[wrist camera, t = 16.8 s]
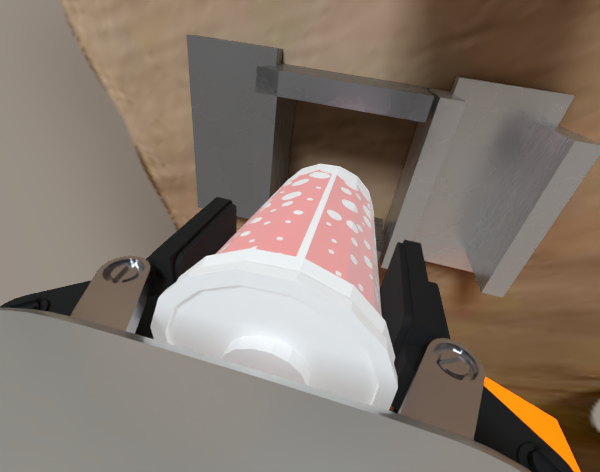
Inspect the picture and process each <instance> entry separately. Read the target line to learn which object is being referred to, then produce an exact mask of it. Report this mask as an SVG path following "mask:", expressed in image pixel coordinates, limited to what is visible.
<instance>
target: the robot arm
mask: <svg viewBox="0 0 600 472" xmlns="http://www.w3.org/2000/svg"><path fill="white" fill-rule="evenodd" d="M236 213H237V208H236V205H235V204H233V202H232V200H229V199H225V198H220V197H216V198H215V199H213V200H212V201H211V202H210V203H209V204H208V205H207V206H205V207H204V208H203V209H202V210H201V211H200V212H199V213H197V214H196V215H195V216H194V217H193V218H192V219H191V220H189V221H188V222H187V223H186V224H185V225H184V226H183V227H181V228H180V229H179V230H178V231H177V232H176V233H175V234H173V235H172V236H171V237H170V238H169V239H168V240H167V241H165V242H164V243H163V244H162V245H161V246H160V247H159V248H157V249H156V250H155V251H154V252H153V253H152V254H151V255H150V256H149V257H148V258H147V259H144V258H141V257H137V256H124V257H120V258H116V259H113V260H111V261H108V262H107V263H105V264H104V265H102V266H101V267H100V269H99V270H98V271H97V273H96V274H95V276H94V277H93V279H92V281H87V282H83V283H78V284H74V285H70V286H65V287H61V288H57V289H52V290H47V291H43V292H39V293H34V294H30V295H26V296H22V297H19V298H16V299H14V300H11V301H9V302H7V303H5V304H3V305H2V306H0V472H574V471H573V470H572V468H571V467H570V466H569V464H568V463H567V462H566V461H565V460H564V459H563V458H562V457H561V456H560V455H559V454H558V453H557V452H556V451H555V450H554V449H553V448H551V447H550V446H549V445H548V444H547V443H546V442H545V441H544V440H543V439H542V438H541V437H539V436H538V435H537V434H536V433H535V432H534V431H533V430H532V429H531V428H530V427H529V426H528V425H526V424H525V423H524V422H523V421H522V420H521V419H520V418H519V417H518V416H517V415H516V414H514V413H513V412H512V411H511V410H510V409H509V408H508V407H507V406H506V405H505V404H504V403H502V402H501V401H500V400H499V399H498V398H497V397H496V396H495V395H494V394H493V393H492V392H490V391H489V390H488V389H487V388H486V387H485V386H484V380H485V370H484V367H483V365H482V362H481V361H480V360H479V358H478V357H477V356H476V354H474V353H473V352H472V351H471V350H470V349H469V348H468V347H466V346H464V345H463V344H461V343H459V342H457V341H455V340H452V339H450V335H449V331H448V327H447V322H446V318H445V314H444V309H443V305H442V301H441V296H440V292H439V288H438V285H437V284H436V283H433V282H429V281H428V277H427V272H426V266H425V261H424V256H423V251H422V246H421V243H418V242H413V241H409V240H404V241H403V243H400V242H398V243H397V245H396V247H395V250H394V253H393V255H392V258H391V261H390V264H389V266H388V269H387V272H386V275H385V277H384V280H383V283H382V285H381V288H380V301H381V314H382V318H383V319H384V320H385V321H386V324H387V328H388V332H389V336H390V339H391V343H392V347H393V350H394V354H395V361H394V366H395V370H396V373H397V379H398V389H397V392H396V394H395V397H394V399H393V402H392V404H391V405H392V406H393V410H392V411H388V410H385V409H382V408H379V407H376V406H373V405H370V404H366V403H363V402H360V401H356V400H353V399H350V398H347V397H343V396H340V395H337V394H334V393H330V392H327V391H324V390H321V389H317V388H314V387H311V386H308V385H304V384H301V383H298V382H295V381H291V380H288V379H285V378H281V377H278V376H275V375H271V374H268V373H265V372H261V371H258V370H255V369H251V368H248V367H245V366H242V365H238V364H235V363H232V362H228V361H225V360H222V359H218V358H215V357H212V356H208V355H205V354H201V353H198V352H195V351H191V350H188V349H185V348H181V347H178V346H174V345H171V344H168V343H164V342H161V341H157V340H154V338H153V334H152V331H151V328H150V326H151V322H152V319H153V315H154V312H155V308H156V304H157V301H158V298H159V297H160V295H161V294H162V293H163V292H164V291H165V290H166V289H167V288H169V287H170V286H171V285H173V284H174V283H175V282H177V280H178V278H179V277H180V276H181V275H182V274H184V273H185V272H186V271H187V270H189V269H190V268H191V267H193V266H194V265H195V264H197V263H198V262H199V261H200V260H202V259H203V258H204V257H206V256H208V255H214V254H216V253H217V252H218V251H219V250H220V249H221V248H222V247H223V246H224V245H225V244H226V243H227V241H228V240H229V239H230V238H231V237H232V236H233V235H234V234H235V233H236Z"/></svg>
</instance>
